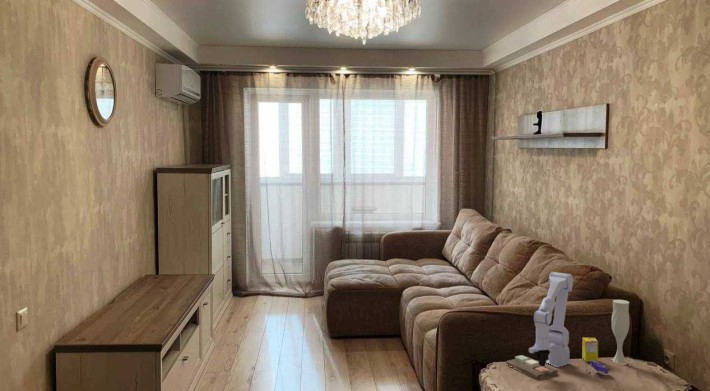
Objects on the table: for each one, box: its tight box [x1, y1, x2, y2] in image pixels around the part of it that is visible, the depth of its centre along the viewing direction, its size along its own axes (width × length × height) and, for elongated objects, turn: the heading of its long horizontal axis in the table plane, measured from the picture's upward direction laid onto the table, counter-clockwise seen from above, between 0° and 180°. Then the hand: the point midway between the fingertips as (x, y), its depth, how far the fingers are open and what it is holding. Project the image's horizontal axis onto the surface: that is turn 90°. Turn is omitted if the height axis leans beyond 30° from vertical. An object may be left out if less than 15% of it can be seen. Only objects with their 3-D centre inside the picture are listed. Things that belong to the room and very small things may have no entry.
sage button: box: [514, 354, 530, 364], centre depth 272 cm, size 4×4×2 cm
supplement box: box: [581, 336, 599, 363], centre depth 277 cm, size 6×6×11 cm
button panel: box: [505, 356, 559, 381], centre depth 267 cm, size 13×20×2 cm, turn 27°
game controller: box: [585, 357, 610, 380], centre depth 261 cm, size 10×8×10 cm
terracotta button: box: [535, 367, 549, 373], centre depth 261 cm, size 4×4×2 cm
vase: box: [611, 299, 630, 363], centre depth 274 cm, size 9×8×30 cm
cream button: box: [525, 359, 539, 368], centre depth 267 cm, size 4×4×2 cm
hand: (542, 365), depth 261 cm, fingers closed
